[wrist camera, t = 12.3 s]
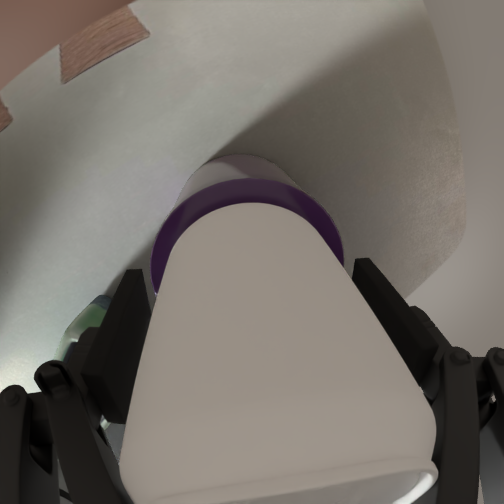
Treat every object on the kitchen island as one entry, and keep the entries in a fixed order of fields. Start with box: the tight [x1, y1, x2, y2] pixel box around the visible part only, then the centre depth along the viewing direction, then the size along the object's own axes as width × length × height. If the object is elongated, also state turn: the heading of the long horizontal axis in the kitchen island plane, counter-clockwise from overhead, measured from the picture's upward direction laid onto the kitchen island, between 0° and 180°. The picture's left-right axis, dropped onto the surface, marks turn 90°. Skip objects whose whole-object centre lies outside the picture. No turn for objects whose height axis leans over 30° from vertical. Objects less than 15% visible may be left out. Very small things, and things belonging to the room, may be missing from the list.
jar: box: [150, 154, 344, 298], centre depth 20 cm, size 10×10×9 cm
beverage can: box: [119, 203, 438, 504], centre depth 10 cm, size 8×8×12 cm
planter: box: [53, 295, 112, 461], centre depth 27 cm, size 28×7×7 cm, turn 142°
